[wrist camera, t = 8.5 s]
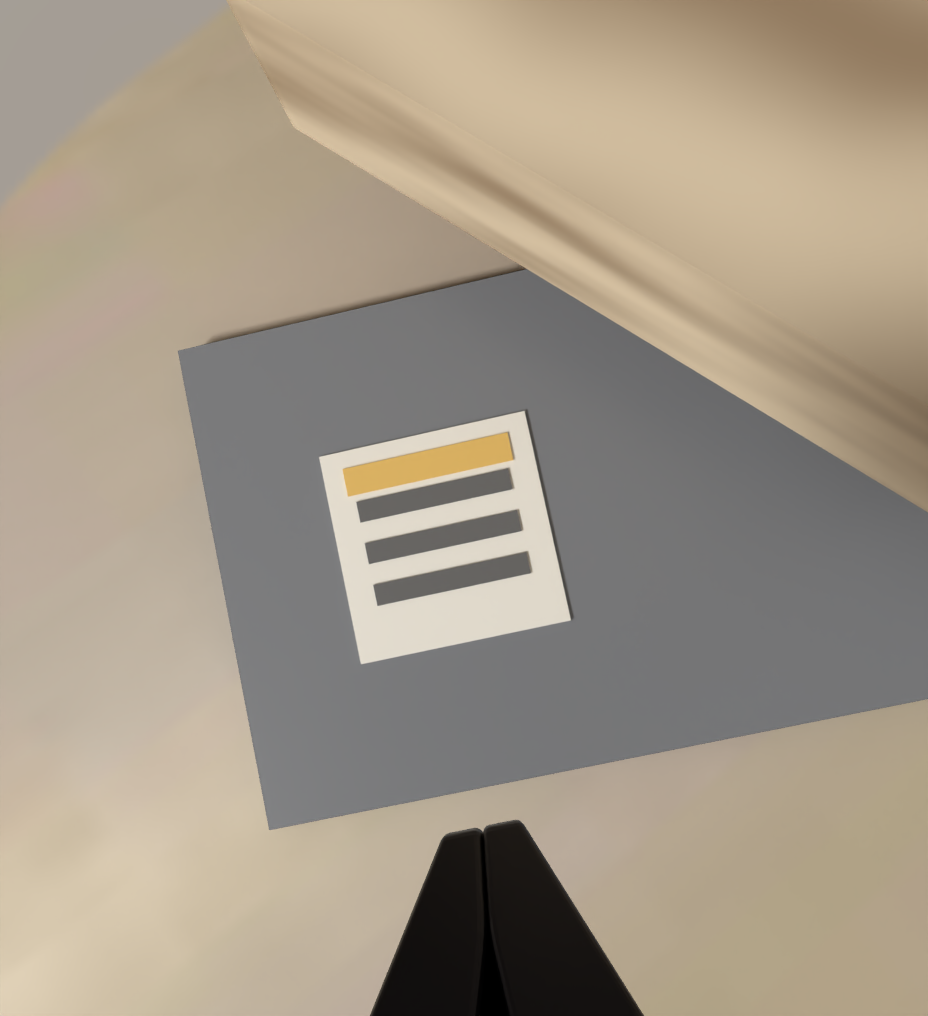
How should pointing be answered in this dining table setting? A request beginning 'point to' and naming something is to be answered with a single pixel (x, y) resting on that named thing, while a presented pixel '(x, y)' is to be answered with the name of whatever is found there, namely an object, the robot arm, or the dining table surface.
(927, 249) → the beige wooden block
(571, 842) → the dining table surface
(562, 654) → the label board
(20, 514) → the dining table surface
